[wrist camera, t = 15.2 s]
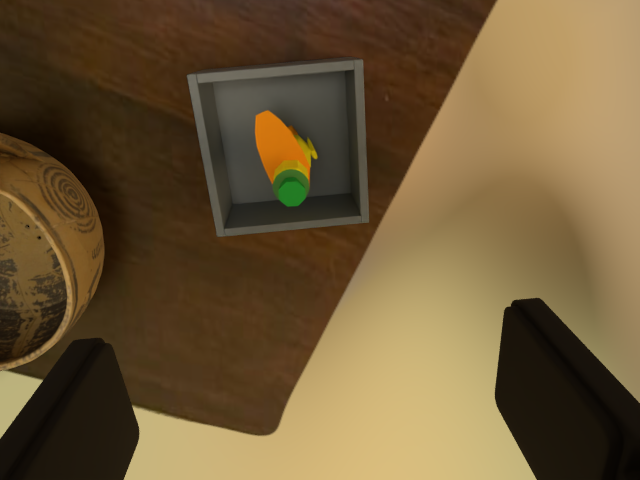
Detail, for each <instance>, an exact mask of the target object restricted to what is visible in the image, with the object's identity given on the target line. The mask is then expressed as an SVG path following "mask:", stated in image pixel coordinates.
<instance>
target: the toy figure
mask: <svg viewBox="0 0 640 480" xmlns="http://www.w3.org/2000/svg"><path fill="white" fill-rule="evenodd" d="M255 136H256V144H257V148H258V151H259V154H260V157H261V160H262V163H263V166H264V168H265V171H266V173H267V175H268V177H269V179H270V181H271V183H272V184H273V192H274V194H275V196H276V197H277V198H278V199H279V200H280V201H281V202H282V203H283V204H285V205H286V206H287V207H290V206H299V205H300V204H301V203H302V202H303V201H304V200H305V199H306V196H307V194H308V192H309V186H310V167H311V155H312V157H313V158H314V159H317V158H318V156H317V153H316V151H315V149H314V147H313V145H312V143H311V141H310V139H309V138H308V137H307V143H308V144H307V143H306V142H305V141H304V140H303V139H302V138H301V137H300V136H299V135H298V133H297V131H296V130H295V129H294V128H293V126H292V125H291V126H288V127H286V125H285V124H284V123H283V122H282V121H281V120H280V119H279V118H278V117H276V116H275V115H274V114H273V113H271V112H270V111H269V110H267V111H264V112H261V113H260V114H258V115H256V121H255Z"/></svg>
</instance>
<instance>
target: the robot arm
mask: <svg viewBox="0 0 640 480" xmlns="http://www.w3.org/2000/svg"><path fill="white" fill-rule="evenodd" d="M495 400H496V404H497V407H498V409H499V411H500V413H501V415H502V417H503V419H504V420H505V422H506V424H507V426H508V428H509V430H510V431H511V433H512V435H513V437H514V439H515V440H516V442H517V444H518V446H519V448H520V450H521V451H522V453H523V455H524V457H525V459H526V461H527V462H528V464H529V466H530V468H531V470H532V472H533V473H534V475H535V477H536V479H537V480H640V403H639V402H638V401H637V400H636V399H635V398H634V397H633V396H632V395H631V394H630V393H629V391H628V390H627V389H626V388H625V387H624V386H623V385H622V384H621V383H620V382H619V381H618V380H617V379H616V378H615V377H614V376H613V374H611V372H610V371H609V370H608V369H607V368H606V367H605V366H604V365H603V364H602V363H601V362H600V361H599V360H598V359H597V358H596V357H595V356H594V354H593V353H592V352H590V350H589V349H588V348H587V347H586V346H585V345H584V344H583V343H582V342H581V341H580V340H579V339H578V338H577V336H576V335H575V334H574V333H573V332H572V331H571V330H570V329H569V328H568V327H567V326H566V325H565V324H564V323H563V322H562V321H561V319H559V317H558V316H557V315H556V314H555V313H554V312H553V311H552V310H551V309H550V308H549V307H548V306H547V305H546V304H545V303H544V301H542V300H541V299H540V298H533V299H521V300H514V301H513V302H512V304H511V307H506V308H505V310H504V318H503V326H502V334H501V343H500V352H499V361H498V369H497V378H496V388H495ZM138 440H139V426H138V423H137V420H136V417H135V414H134V411H133V408H132V405H131V402H130V399H129V396H128V393H127V389H126V386H125V383H124V380H123V377H122V374H121V371H120V368H119V365H118V362H117V359H116V356H115V353H114V350H113V347H112V345H111V344H109V343H105V342H104V340H103V339H102V338H91V339H80V340H74V341H73V342H72V343H71V344H70V345H69V346H68V348H67V349H66V350H65V352H64V353H63V354H62V356H61V357H60V359H59V360H58V361H57V363H56V364H55V365H54V367H53V368H52V369H51V371H50V372H49V373H48V375H47V376H46V378H45V379H44V380H43V382H42V383H41V384H40V386H39V387H38V388H37V390H36V391H35V392H34V394H33V395H32V397H31V398H30V399H29V401H28V402H27V403H26V405H25V406H24V407H23V409H22V410H21V411H20V413H19V414H18V416H17V417H16V418H15V420H14V421H13V422H12V424H11V425H10V426H9V428H8V429H7V430H6V432H5V433H4V435H3V436H2V437H1V439H0V480H124V477H125V474H126V472H127V469H128V467H129V464H130V462H131V459H132V456H133V454H134V451H135V449H136V446H137V444H138Z"/></svg>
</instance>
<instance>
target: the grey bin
mask: <svg viewBox="0 0 640 480" xmlns="http://www.w3.org/2000/svg"><path fill="white" fill-rule="evenodd" d="M187 80H188V85H189V91H190V96H191V101H192V107H193V112H194V117H195V122H196V128H197V133H198V138H199V144H200V149H201V154H202V160H203V165H204V170H205V175H206V181H207V186H208V191H209V197H210V202H211V207H212V213H213V218H214V223H215V228H216V234H217V237H222V236H233V235H243V234H254V233H264V232H274V231H285V230H295V229H305V228H315V227H326V226H336V225H346V224H357V223H367V222H369V207H368V180H367V154H366V127H365V101H364V75H363V59H359V58H355V57H342V58H330V59H319V60H308V61H296V62H285V63H273V64H262V65H251V66H239V67H228V68H217V69H205V70H201V71H198V72H194V73H191V74H188V75H187ZM267 110H269V111H270V112H271V113H273V114H274V115H275V116H276V117H278V118H279V119H280V120H281V121H282V122H283V123H284V124H285V125H286V127H288V126H291V125H292V126H293V128H294V129H295V130H296V131H297V133H298V135H299V136H300V137H301V138H302V139H303V140H304V141H305V142H306V143H307V137H308V138H309V139H310V141H311V143H312V145H313V147H314V149H315V151H316V153H317V156H318V158H317V159H314V158H313V157H312V155H311V167H310V186H309V192H308V194H307V196H306V199H305V200H304V201H303V202H302V203H301V204H300V205H299V206H290V207H287V206H286V205H285V204H283V203H282V202H281V201H280V200H279V199H278V198H277V197H276V196H275V194H274V192H273V184H272V183H271V181H270V179H269V177H268V175H267V173H266V171H265V168H264V166H263V163H262V160H261V157H260V154H259V151H258V148H257V144H256V136H255V121H256V115H258V114H260V113H261V112H264V111H267ZM307 144H308V143H307Z"/></svg>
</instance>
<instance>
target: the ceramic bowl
mask: <svg viewBox="0 0 640 480" xmlns="http://www.w3.org/2000/svg"><path fill="white" fill-rule="evenodd" d="M27 225H29V226H30V227H28V226H27ZM39 236H40V237H41V238H38V237H39ZM103 261H104V240H103V231H102V225H101V222H100V219H99V215H98V211H97V209H96V207H95V205H94V203H93V201H92V199H91V198H90V196H89V194H88V192H87V191H86V189H85V188H84V187H83V185H82V184H81V183H80V182H79V180H78V179H77V178H76V177H75V176H74V174H73V173H72V172H71V171H70V170H69V169H67V168H66V167H65V166H64V165H63V164H62V163H60V162H59V161H57V160H56V159H54V158H53V157H52V156H50V155H49V154H47V153H45V152H44V151H42V150H40V149H39V148H37V147H35V146H33V145H32V144H29V143H27V142H24V141H22V140H19V139H17V138H14V137H11V136H8V135H6V134H3V133H0V371H2V370H7V369H11V368H13V367H17V366H19V365H22V364H25V363H27V362H30V361H32V360H33V359H35V358H37V357H39V356H40V355H42V354H43V353H44V352H46V351H47V350H48V349H49V348H51V347H52V346H53V345H54V344H56V343H57V342H58V341H59V340H60V339H61V338H62V337H63V336H64V335H65V334H66V333H67V332H68V331H69V330H70V329H71V328H72V327H73V326H74V325H75V323H76V322H77V321H78V319H79V318H80V316H81V315H82V314H83V312H84V311H85V309H86V308H87V306H88V304H89V302H90V300H91V298H92V297H93V295H94V293H95V291H96V288H97V285H98V282H99V279H100V276H101V273H102V268H103Z"/></svg>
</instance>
